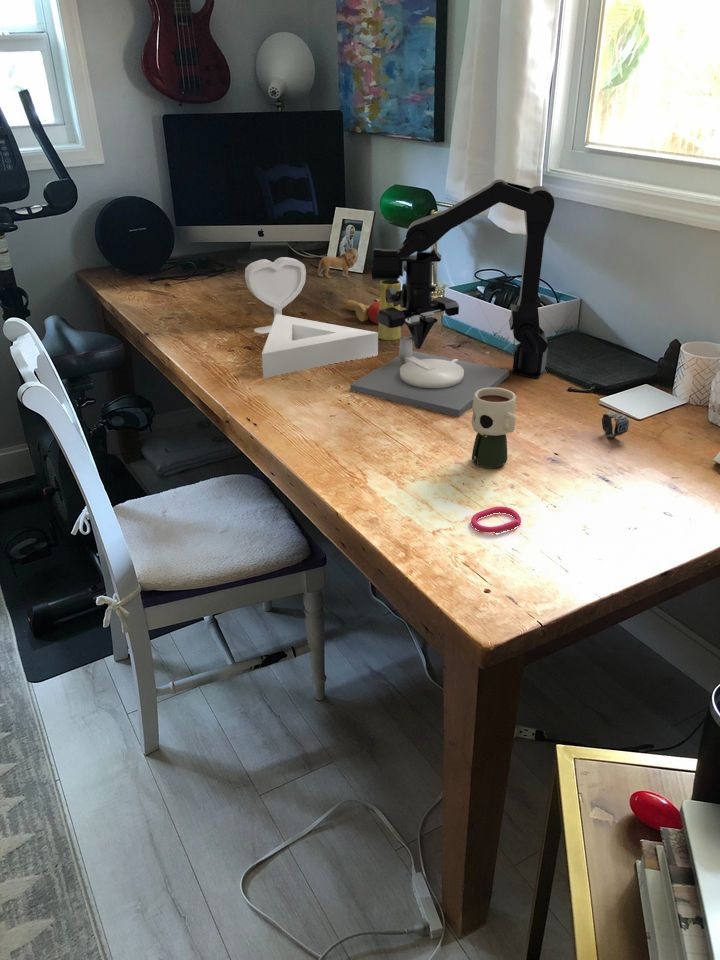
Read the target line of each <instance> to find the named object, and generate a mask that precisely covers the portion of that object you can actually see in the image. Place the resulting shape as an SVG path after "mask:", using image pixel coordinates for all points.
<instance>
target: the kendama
mask: <svg viewBox="0 0 720 960" xmlns="http://www.w3.org/2000/svg"><path fill="white" fill-rule="evenodd" d="M345 308H346V310H348V311H351V312H355V315H356V317H357V319H358V320H359V321H361V322H366V321H367V320H368V319H369V320H370V322H372V323H374V324H376V325H379V322H377V314H378V312H379V298H375V299H374V300H372V303H371V304H369V305H366V304H363V303H361V302H358V301H355V300H352V299H348V300H347V301H346V302H345Z"/></svg>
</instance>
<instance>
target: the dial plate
mask: <svg viewBox="0 0 720 960" xmlns="http://www.w3.org/2000/svg"><path fill="white" fill-rule="evenodd" d="M413 357H415V358H417V359H440V360H446V361H450V362H454V363H456V364H458V365H460V366H461V367H462V368H463V369H464V378H463V381H462V382H460V383H459V384H457V385H455V386H451V387H446V388H421V387H416V386H412V385H410V384H407V383H405V382H404V381H402V380H401V378H400V367H401V366H402V365H403V364H405V363H406V362H403V361H400V360H399V355H397V356H396V357H395V356H394V358H391V360H389V361H387V362H385V363H384V364H382V365H380V366H379V367H377V368H376V369H373V370H372V371H371V372H369V373H367V374H365V375H364V376H362V377H360V378H359V379H357V380H355V381H353V382H351V383H350V384H349V391H350V390H351V391H350V392H353V391H355V392H354V393H357V392H359V393H358V394H361V393H362V395H365V394H367V395H366V396H369V395H371V396H370V397H373V396H375V397H374V398H378V397H379V399H382V398H383V399H382V400H385V401H390V400H391V402H394V403H399V404H403V405H406V406H411V407H417V408H421V409H424V410H427V411H428V410H429V411H432V412H437V413H440V414H445V415H449V416H454V417H457V418H460V417H461V416H463V415H464V414H465V413H466V412H467V411H469V409H471V408H473V398H474V393H475V392H476V391H477V390H480V389H482V388H489V387H490V388H498V386H499V385H500V384H501V383H503V382H504V381H506V379H508V378H509V376H510V370H509V369H505V368H499V367H495V366H491V365H485V364H480V363H475V362H470V361H466V360H462V359H460V360H459V359H458V358H451V357H447V356H446V357H445V356H441V355H436V354H430V353H425V352H421V351H416V350H413Z"/></svg>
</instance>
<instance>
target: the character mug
mask: <svg viewBox="0 0 720 960" xmlns="http://www.w3.org/2000/svg"><path fill="white" fill-rule="evenodd" d="M516 401H517V397H516V394H515V393H514V392H513V391H511V390H508V389H506V388H502V387H495V388H490V387H489V388H482V389H480V390H477V391H476V392H475V393H474V398H473V406H472V416H471V426H472V428H473V431H475V432H476V435H475V440H474V443H473V447H472V453H471V457H470V458H471V460H472V463H475V459H477V462H476V464H477V466H479V467H483V468H489V469H491V468H492V469H494V468H497V467H500V466H502V465H504V464H506V463H507V462H508V438H507V435H506V434H511V433H513V432H514V431H515V427H516V415H515V414H516V413H515V412H516V411H515V410H516V404H517V403H516Z"/></svg>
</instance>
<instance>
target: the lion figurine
mask: <svg viewBox="0 0 720 960" xmlns="http://www.w3.org/2000/svg"><path fill="white" fill-rule="evenodd" d="M358 259H359V255H358V249H356V248H354V247H350V248H348V249H347V250H346V251H345V252H344V253H342V254H341V255H340V256H336V257H333V256H328V255H326V256H324V257H322V258H321V259H320V261H319V264H318V269H317V273H315V275H314V278H315V277H318V276H319V277H323V276H324V275H325V276H326V278H327V279H330V280H331V279H332V277H331V275H329V270H330V267H331V268H333V269H336V270H339V269H340V270H342V273H341V274H342V276H343V277H345V278H346V279H349V278H350V275H349V269H351V268H353V267H354V266H355V265H356V263H357V262H358ZM323 271H325V272H324V275H323V274H322V272H323Z"/></svg>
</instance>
